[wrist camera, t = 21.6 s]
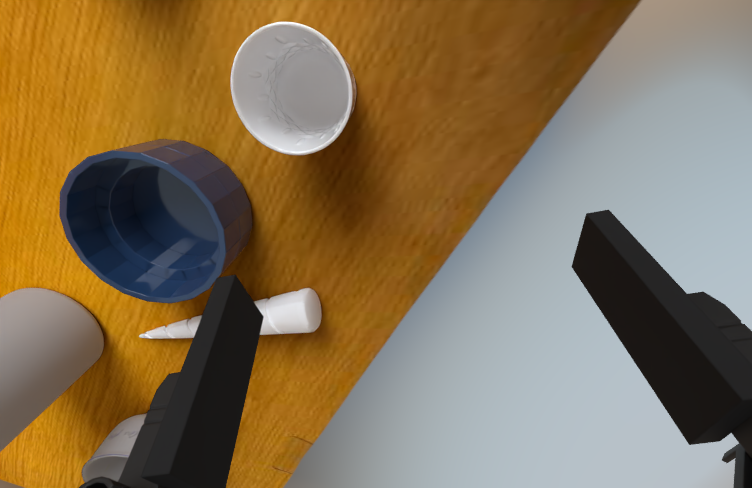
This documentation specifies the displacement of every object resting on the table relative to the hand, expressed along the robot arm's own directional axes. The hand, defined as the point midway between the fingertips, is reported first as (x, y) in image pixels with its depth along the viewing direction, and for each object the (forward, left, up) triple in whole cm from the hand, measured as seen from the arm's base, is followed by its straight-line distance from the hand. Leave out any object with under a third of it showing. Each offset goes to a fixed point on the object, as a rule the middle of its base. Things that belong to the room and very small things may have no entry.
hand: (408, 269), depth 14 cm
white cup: (+8, -6, -22) cm, 24 cm away
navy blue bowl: (+22, +7, -22) cm, 32 cm away
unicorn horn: (+18, +20, -22) cm, 35 cm away
